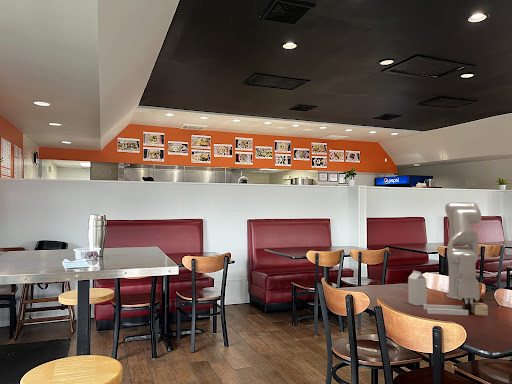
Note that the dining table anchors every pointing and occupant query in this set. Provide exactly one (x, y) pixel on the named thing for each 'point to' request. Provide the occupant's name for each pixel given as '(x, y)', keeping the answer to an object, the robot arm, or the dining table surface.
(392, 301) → the dining table surface
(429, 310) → the channel
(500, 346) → the dining table surface
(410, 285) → the milk carton
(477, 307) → the maple block
